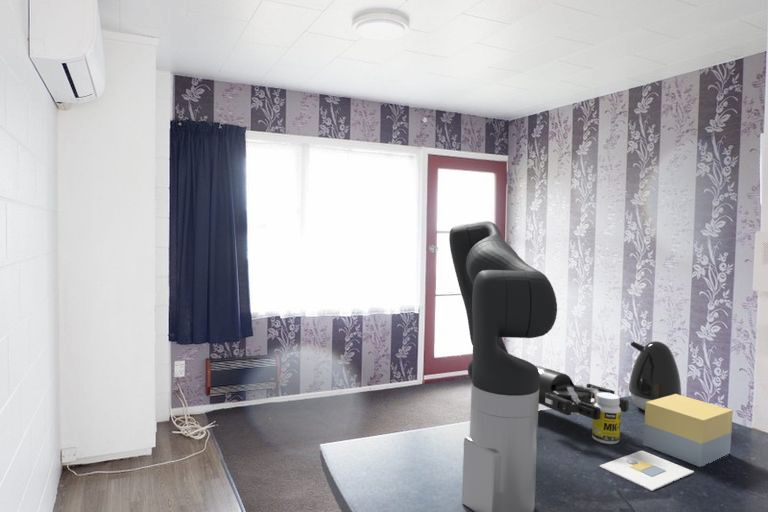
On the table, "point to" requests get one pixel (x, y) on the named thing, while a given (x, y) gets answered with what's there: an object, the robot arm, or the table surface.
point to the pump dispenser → (653, 374)
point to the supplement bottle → (607, 419)
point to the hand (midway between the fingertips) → (613, 410)
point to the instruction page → (646, 470)
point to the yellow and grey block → (688, 429)
